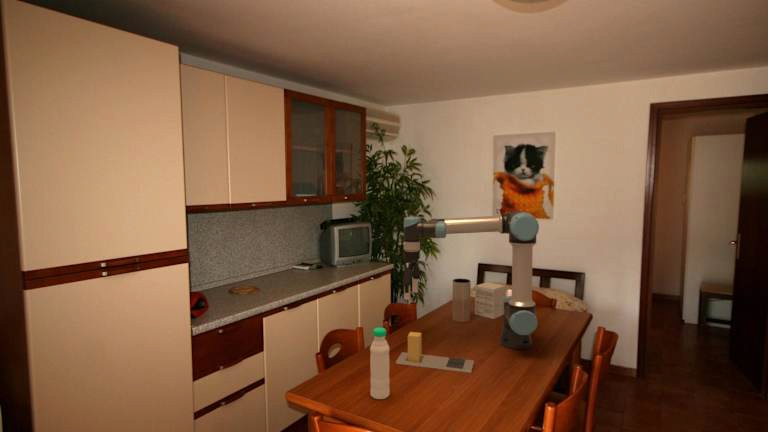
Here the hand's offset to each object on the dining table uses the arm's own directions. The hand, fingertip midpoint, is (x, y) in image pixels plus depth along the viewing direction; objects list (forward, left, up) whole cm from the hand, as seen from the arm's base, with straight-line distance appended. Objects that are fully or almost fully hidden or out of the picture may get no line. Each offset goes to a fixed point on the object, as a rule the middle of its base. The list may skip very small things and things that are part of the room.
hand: (411, 295), depth 202 cm
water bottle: (+1, +46, -26) cm, 53 cm away
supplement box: (-31, -67, -26) cm, 78 cm away
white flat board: (-13, +12, -26) cm, 31 cm away
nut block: (-4, +12, -26) cm, 29 cm away
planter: (-16, -52, -26) cm, 60 cm away
